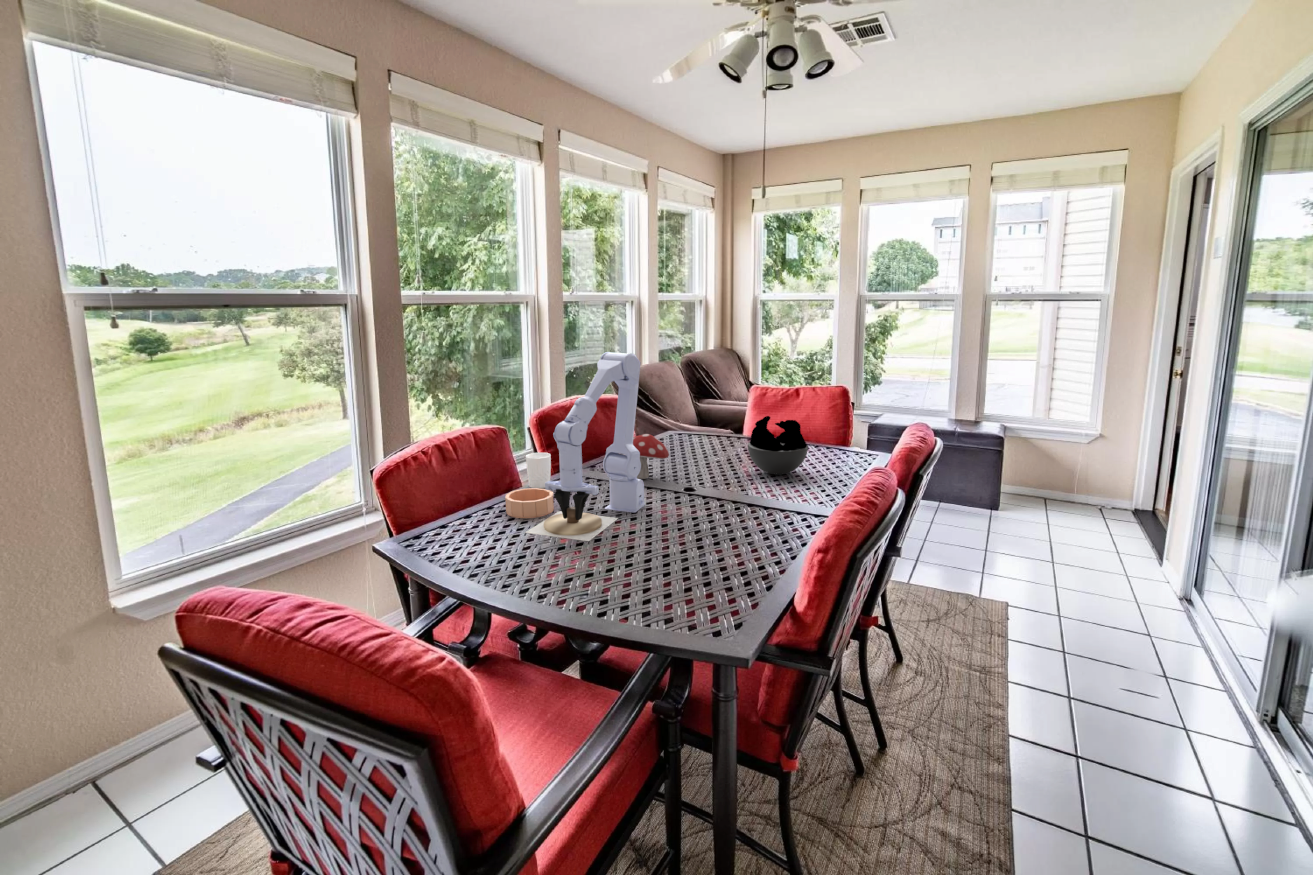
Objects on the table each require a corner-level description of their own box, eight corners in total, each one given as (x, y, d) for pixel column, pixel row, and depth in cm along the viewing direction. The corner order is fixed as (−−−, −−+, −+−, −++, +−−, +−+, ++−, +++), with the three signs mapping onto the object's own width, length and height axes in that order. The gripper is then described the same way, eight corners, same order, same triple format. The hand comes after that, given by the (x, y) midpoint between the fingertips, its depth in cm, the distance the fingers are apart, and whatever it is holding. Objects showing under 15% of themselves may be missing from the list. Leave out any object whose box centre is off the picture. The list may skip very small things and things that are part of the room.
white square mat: (618, 519, 176) (618, 518, 176) (588, 542, 160) (588, 541, 160) (559, 512, 182) (559, 511, 182) (524, 534, 166) (524, 532, 166)
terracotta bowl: (562, 507, 187) (561, 490, 186) (538, 521, 175) (538, 504, 174) (522, 502, 191) (521, 486, 190) (497, 516, 179) (496, 499, 178)
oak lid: (610, 519, 175) (610, 503, 174) (586, 538, 161) (585, 520, 161) (561, 513, 180) (560, 497, 179) (533, 531, 166) (532, 514, 166)
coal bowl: (812, 481, 211) (815, 424, 207) (750, 481, 212) (752, 424, 208) (800, 466, 231) (802, 413, 227) (743, 466, 231) (744, 413, 227)
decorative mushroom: (640, 469, 227) (640, 427, 224) (678, 476, 218) (678, 432, 215) (611, 480, 215) (610, 435, 212) (650, 487, 206) (650, 441, 202)
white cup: (556, 483, 211) (555, 453, 209) (542, 490, 204) (541, 459, 202) (536, 481, 214) (535, 451, 212) (522, 487, 207) (520, 456, 205)
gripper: (538, 469, 166) (540, 519, 169) (589, 474, 161) (591, 526, 164) (551, 462, 173) (553, 511, 176) (601, 467, 168) (602, 517, 171)
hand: (572, 518), depth 170 cm, fingers closed on oak lid, 3 cm apart
